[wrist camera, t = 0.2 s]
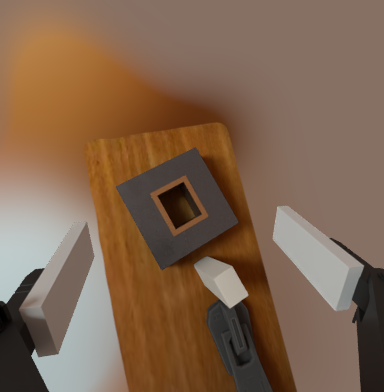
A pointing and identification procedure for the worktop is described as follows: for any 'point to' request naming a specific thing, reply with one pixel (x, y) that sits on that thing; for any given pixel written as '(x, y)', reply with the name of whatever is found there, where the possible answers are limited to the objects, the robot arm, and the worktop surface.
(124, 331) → the worktop surface
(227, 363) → the zipper slider
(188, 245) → the block
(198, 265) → the white rectangular bar
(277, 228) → the robot arm
